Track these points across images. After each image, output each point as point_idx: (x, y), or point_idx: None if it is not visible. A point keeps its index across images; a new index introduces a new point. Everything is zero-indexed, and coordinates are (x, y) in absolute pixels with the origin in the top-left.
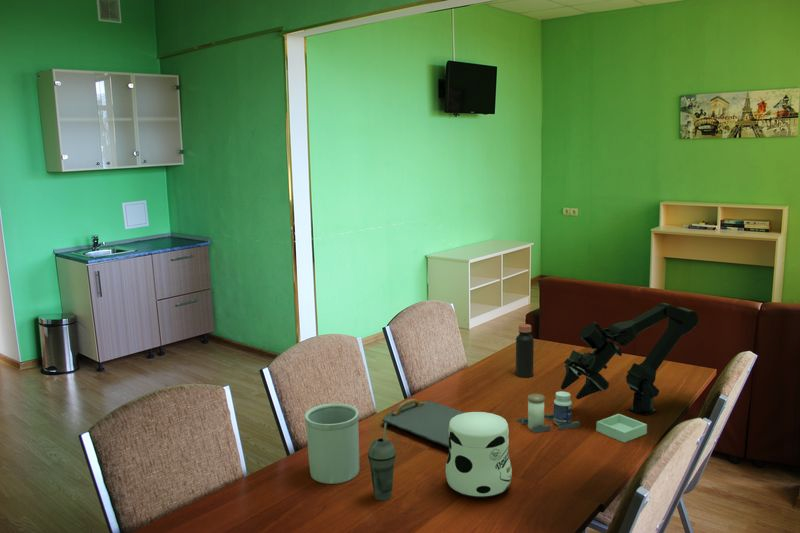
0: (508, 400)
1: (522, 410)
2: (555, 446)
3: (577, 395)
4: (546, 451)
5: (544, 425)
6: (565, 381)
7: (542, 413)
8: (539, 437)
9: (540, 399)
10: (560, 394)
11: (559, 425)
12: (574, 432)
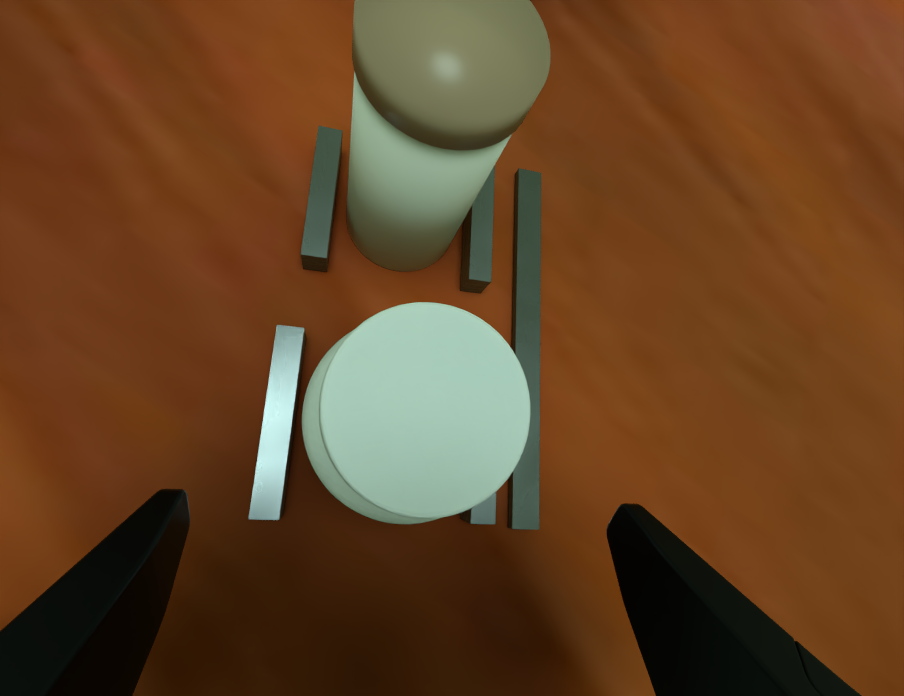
0: (810, 321)
1: (660, 305)
2: (39, 129)
3: (136, 515)
4: (6, 32)
5: (330, 221)
6: (700, 612)
7: (354, 163)
8: (239, 137)
9: (355, 8)
10: (420, 352)
11: (284, 326)
12: (178, 407)
